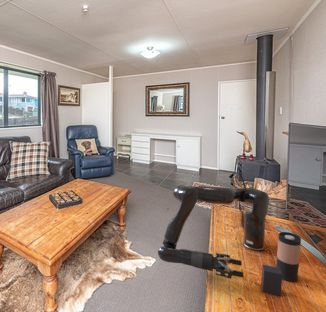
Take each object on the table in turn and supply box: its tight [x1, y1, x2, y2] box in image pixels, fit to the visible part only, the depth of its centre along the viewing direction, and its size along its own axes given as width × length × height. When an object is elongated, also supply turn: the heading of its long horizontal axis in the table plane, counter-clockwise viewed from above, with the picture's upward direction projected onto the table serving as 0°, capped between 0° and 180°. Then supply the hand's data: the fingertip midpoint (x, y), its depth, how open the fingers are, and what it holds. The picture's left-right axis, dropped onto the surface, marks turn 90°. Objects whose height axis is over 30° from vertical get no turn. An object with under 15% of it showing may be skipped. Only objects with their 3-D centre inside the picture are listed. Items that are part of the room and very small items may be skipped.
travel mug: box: [276, 231, 302, 283], centre depth 103 cm, size 8×8×20 cm
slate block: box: [260, 264, 283, 297], centre depth 97 cm, size 4×6×10 cm
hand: (242, 268), depth 101 cm, fingers open, 8 cm apart
